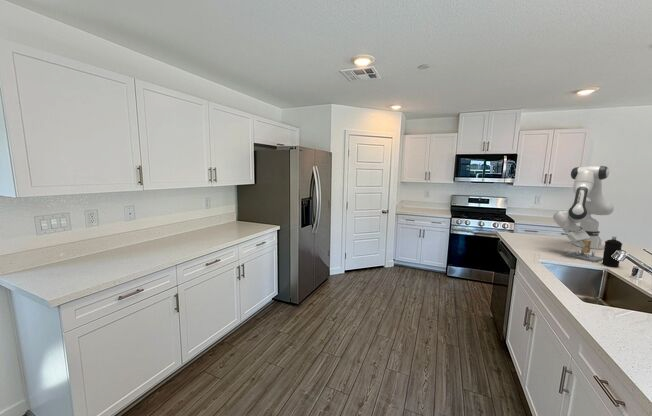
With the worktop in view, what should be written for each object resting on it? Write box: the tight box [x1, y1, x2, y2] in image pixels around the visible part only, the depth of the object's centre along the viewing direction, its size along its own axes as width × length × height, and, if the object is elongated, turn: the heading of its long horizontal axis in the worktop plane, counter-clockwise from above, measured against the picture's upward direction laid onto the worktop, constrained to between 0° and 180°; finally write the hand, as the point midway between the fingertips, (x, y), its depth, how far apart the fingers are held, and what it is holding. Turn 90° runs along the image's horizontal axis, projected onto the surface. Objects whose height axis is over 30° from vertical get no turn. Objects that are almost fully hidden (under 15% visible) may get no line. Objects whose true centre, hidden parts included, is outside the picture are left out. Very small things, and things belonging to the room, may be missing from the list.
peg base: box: [565, 250, 603, 263], centre depth 197 cm, size 14×17×5 cm
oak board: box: [580, 240, 591, 254], centre depth 196 cm, size 5×3×9 cm, turn 114°
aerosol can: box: [601, 236, 623, 268], centre depth 180 cm, size 8×8×20 cm
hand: (587, 246), depth 196 cm, fingers closed on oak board, 5 cm apart
